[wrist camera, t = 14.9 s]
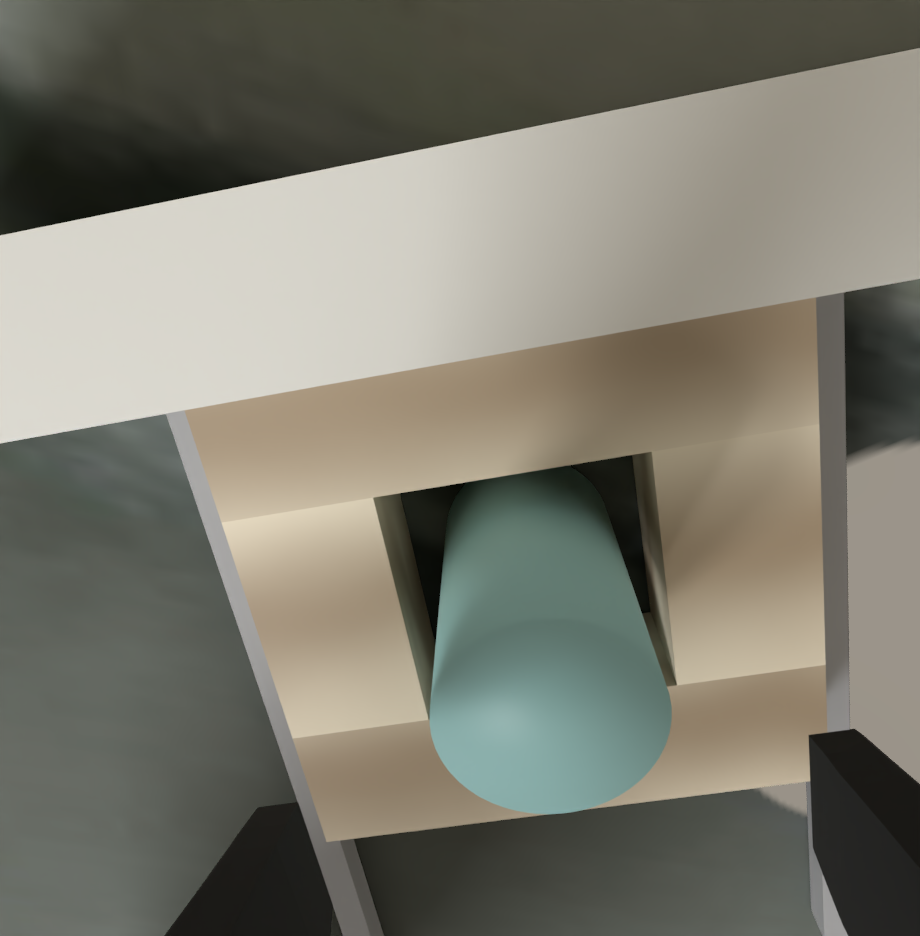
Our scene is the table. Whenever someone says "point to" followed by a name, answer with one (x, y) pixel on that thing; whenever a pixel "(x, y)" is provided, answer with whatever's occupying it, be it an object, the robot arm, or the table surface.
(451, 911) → the table surface
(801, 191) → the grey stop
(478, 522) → the dowel
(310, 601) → the socket block
